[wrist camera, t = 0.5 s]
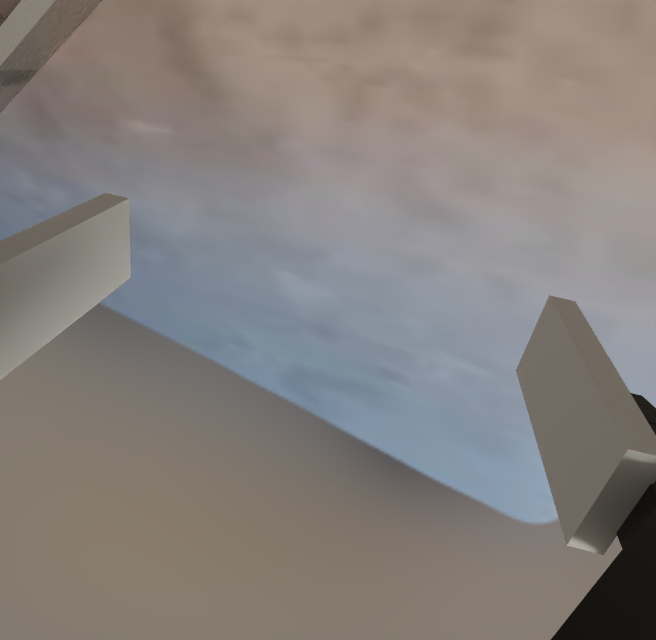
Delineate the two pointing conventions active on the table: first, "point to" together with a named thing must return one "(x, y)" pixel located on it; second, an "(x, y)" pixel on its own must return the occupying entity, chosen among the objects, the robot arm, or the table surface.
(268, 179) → the table surface
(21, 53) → the grey hollow block
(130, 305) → the table surface
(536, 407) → the robot arm
